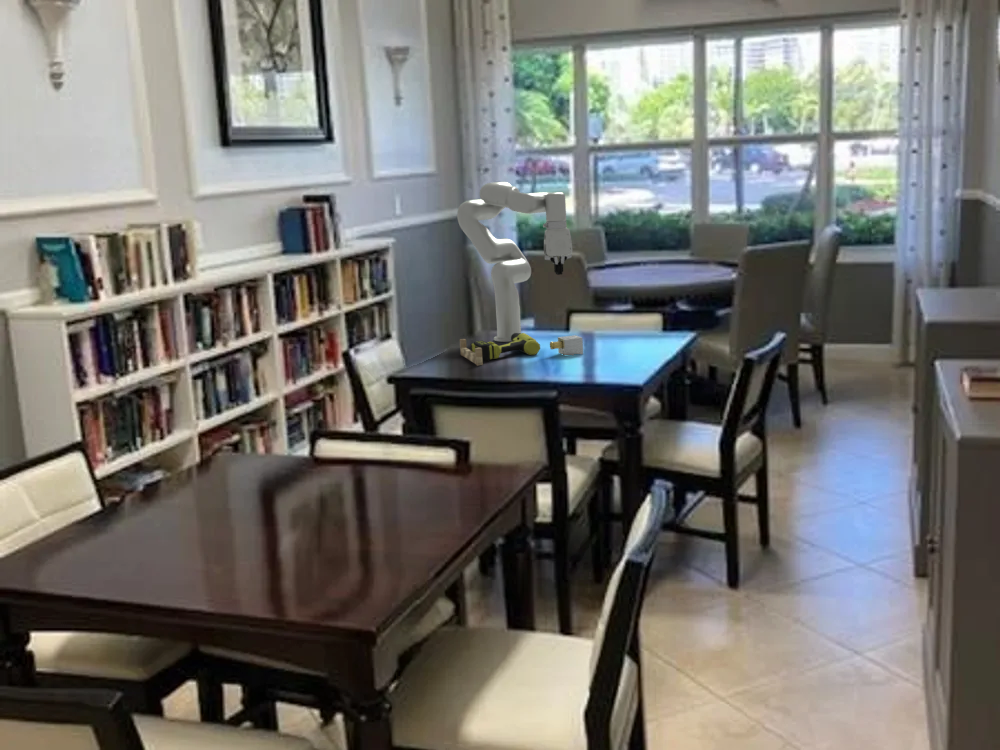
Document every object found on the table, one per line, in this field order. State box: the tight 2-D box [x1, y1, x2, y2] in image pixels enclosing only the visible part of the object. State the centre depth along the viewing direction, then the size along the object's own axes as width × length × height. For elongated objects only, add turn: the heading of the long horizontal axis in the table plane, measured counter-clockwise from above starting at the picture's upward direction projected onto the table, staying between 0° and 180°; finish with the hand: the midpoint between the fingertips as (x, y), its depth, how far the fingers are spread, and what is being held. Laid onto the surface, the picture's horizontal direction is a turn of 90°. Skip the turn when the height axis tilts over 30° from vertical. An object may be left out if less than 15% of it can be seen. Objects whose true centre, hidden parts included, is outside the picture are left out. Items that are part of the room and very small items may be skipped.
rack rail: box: [459, 338, 484, 367], centre depth 382 cm, size 24×2×6 cm, turn 16°
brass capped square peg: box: [549, 340, 563, 350], centre depth 382 cm, size 3×10×3 cm, turn 106°
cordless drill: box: [470, 332, 541, 363], centre depth 391 cm, size 7×25×25 cm
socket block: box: [557, 334, 584, 356], centre depth 382 cm, size 7×7×6 cm
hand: (559, 274), depth 397 cm, fingers closed
